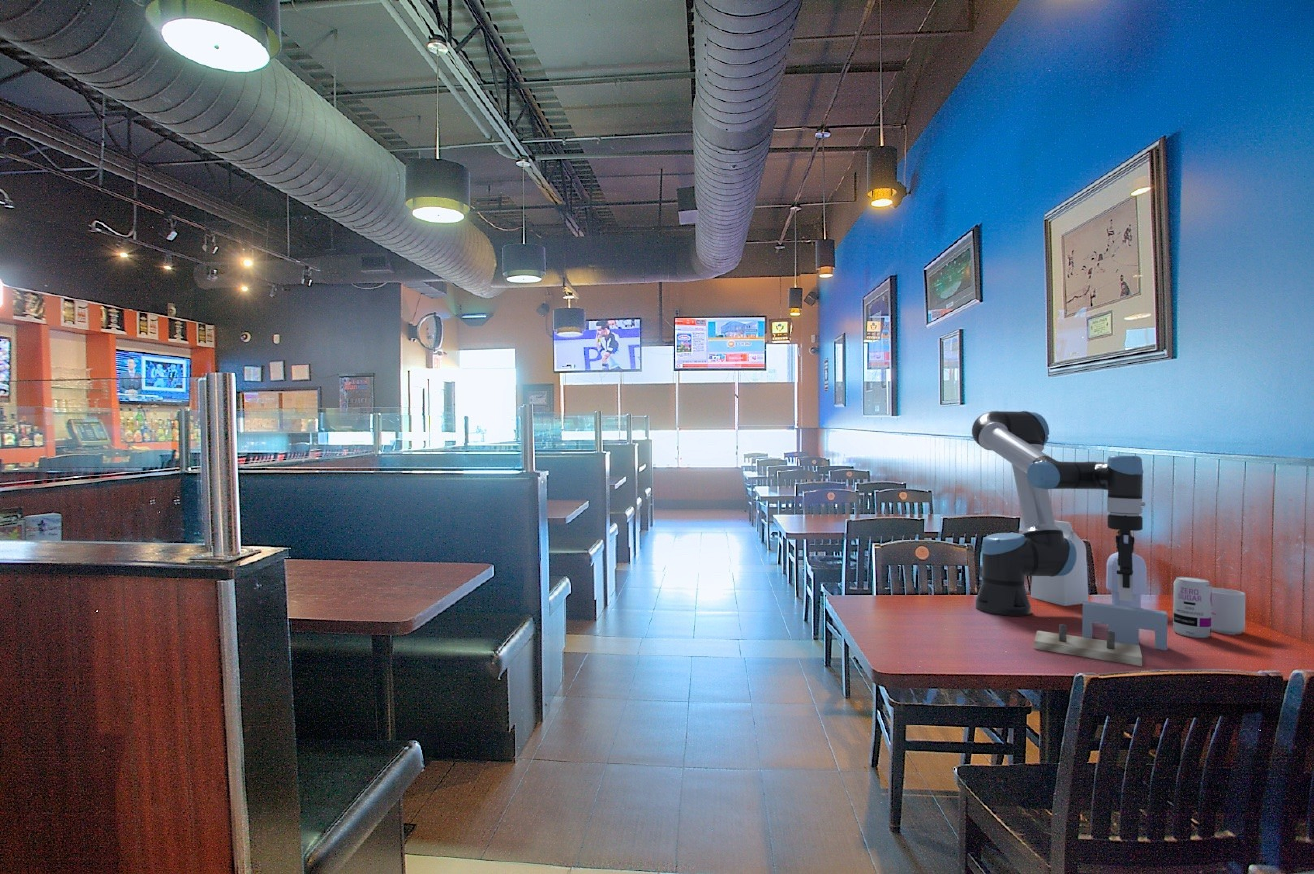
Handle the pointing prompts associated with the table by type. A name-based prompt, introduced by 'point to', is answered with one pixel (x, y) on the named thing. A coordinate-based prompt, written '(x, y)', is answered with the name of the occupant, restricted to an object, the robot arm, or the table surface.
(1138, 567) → the soap bottle
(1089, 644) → the pegged base plate
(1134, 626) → the notched panel
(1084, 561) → the milk
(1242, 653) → the table surface
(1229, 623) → the mug
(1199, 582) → the supplement can
